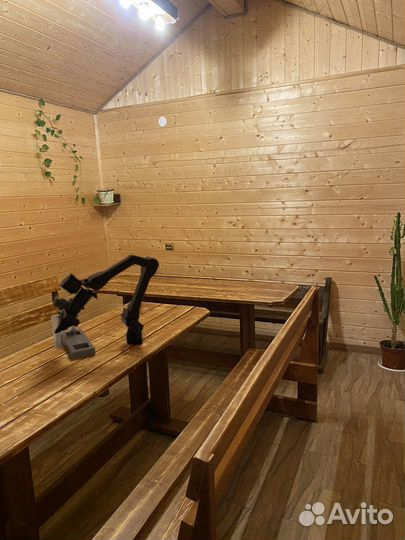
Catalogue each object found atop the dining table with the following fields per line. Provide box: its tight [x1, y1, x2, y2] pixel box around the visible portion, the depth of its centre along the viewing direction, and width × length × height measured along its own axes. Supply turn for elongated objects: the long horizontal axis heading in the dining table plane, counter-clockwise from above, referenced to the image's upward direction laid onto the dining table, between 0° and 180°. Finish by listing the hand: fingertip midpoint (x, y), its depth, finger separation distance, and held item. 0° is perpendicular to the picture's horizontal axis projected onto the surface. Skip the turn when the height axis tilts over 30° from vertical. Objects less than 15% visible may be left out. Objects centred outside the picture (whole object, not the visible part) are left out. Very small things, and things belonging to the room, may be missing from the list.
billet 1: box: [50, 313, 66, 349], centre depth 158 cm, size 4×4×13 cm
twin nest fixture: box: [63, 328, 96, 360], centre depth 171 cm, size 9×28×3 cm, turn 28°
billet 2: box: [67, 326, 79, 336], centre depth 178 cm, size 4×4×13 cm
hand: (54, 331), depth 157 cm, fingers closed on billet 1, 4 cm apart
